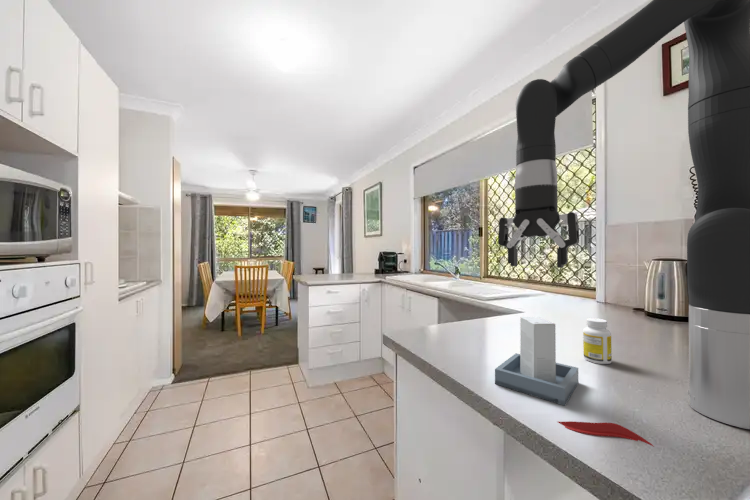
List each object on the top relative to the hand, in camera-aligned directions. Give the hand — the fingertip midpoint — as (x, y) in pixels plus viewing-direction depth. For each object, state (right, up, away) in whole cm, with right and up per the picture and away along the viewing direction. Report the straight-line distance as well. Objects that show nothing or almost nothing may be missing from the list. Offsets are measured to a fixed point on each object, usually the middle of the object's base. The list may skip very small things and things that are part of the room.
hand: (536, 266), depth 59 cm
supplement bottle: (+21, -24, +11) cm, 33 cm away
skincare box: (0, -23, -1) cm, 23 cm away
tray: (0, -23, -1) cm, 23 cm away
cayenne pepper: (+1, -24, -16) cm, 29 cm away
